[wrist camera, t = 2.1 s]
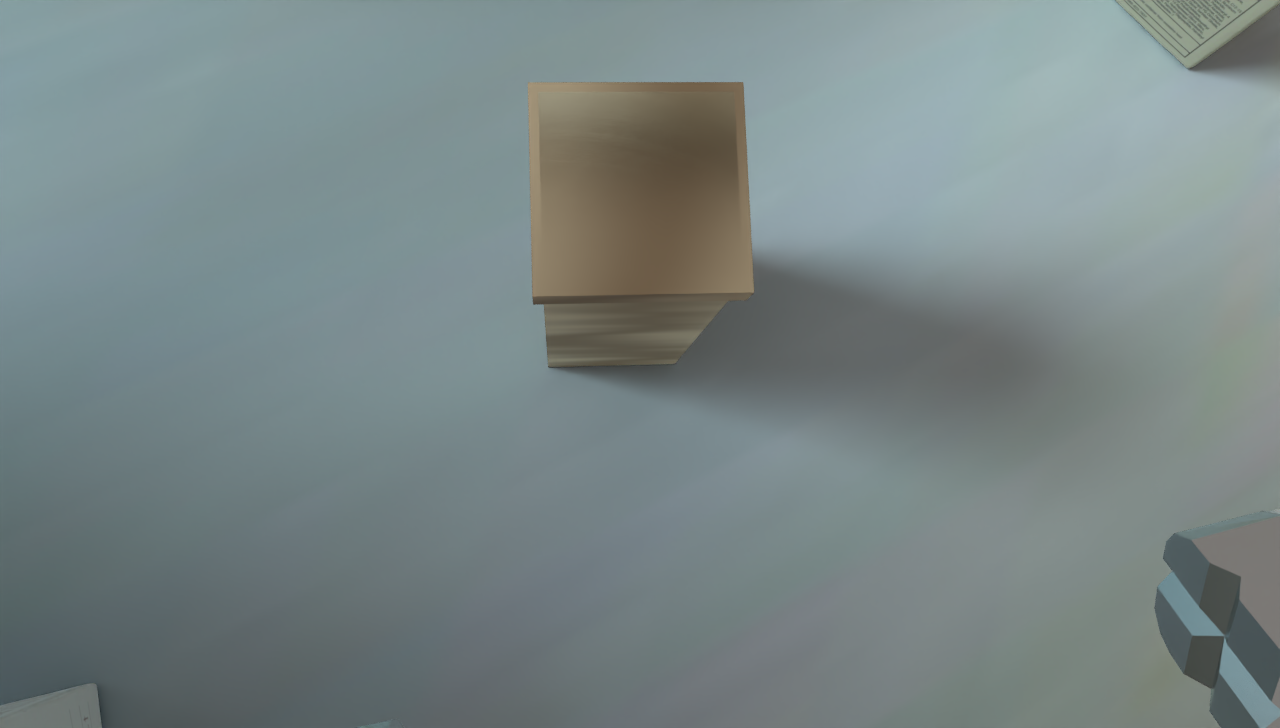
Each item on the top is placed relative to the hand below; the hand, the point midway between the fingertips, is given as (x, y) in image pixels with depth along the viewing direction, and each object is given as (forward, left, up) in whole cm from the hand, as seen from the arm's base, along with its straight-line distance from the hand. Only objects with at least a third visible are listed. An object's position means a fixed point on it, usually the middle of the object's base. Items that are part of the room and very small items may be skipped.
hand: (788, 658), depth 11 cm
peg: (-1, +8, -21) cm, 22 cm away
